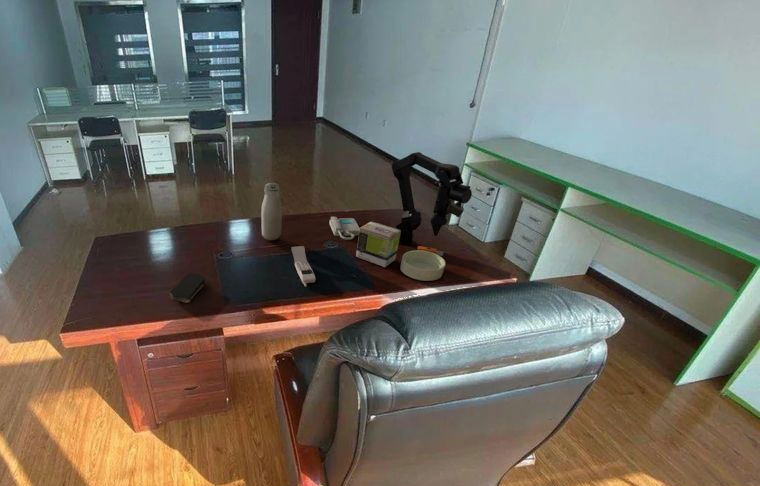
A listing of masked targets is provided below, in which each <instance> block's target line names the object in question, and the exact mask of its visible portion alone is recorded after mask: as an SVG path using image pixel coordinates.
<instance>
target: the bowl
mask: <svg viewBox="0 0 760 486" xmlns="http://www.w3.org/2000/svg"><path fill="white" fill-rule="evenodd" d="M445 268H446V260H445V259H444V258H443V257H442V256H440V255H437V254H434V253H431V252H428V251H420V250H418V249H417V250H409V251H407V252H405V253H403V255H402V258H401V261H400V266H399V269H400V271H401V272H402V273H403V274H404V275H405V276H407V277H409V278H411V279H414V280H417V281H423V282H424V281H425V282H430V281H436V280H439V279H441V278H442V276H444V275H443V274H444V271H445Z"/></svg>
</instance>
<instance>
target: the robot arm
mask: <svg viewBox="0 0 760 486" xmlns="http://www.w3.org/2000/svg"><path fill="white" fill-rule="evenodd" d="M415 165H416V166H418V167H421V168H423V169H425V170H427V171H429V172H431V173H433V175H434V176H435V178H437V179H438V180H437V181H436V182H434V185H436V186H438V189H437V192H436V193H437V194H436V199H435V202H434V203H435V204H434V207H433V211H432V213H433V214H432V215H431V217H430V224H431V228H432V232H433V236H434V237H438V234H439V233H440V231H441V228H442V227H443V226H446V225H447V224H448V219H449V218H448V215H449V214H451V215H453V216H455V217H457V218H460V217H461V216H462V214H463V212H464V211H465V208H464V206H463V205H462V204H467V203H468V202H470V201H471V199H472V197H473V193H472V192H473V191H472V189H471V186H470V185H468V184H467V185H466V184H464V180H463V178H462V175H461V171H460V167H459V166H458V165H456V164H451V163H443V162H440V161H438V160H436V159H434V158H431V157H430V156H427V155H425V154H423V153H422V152H420V151H416V152H412V153H410V154H409V155H406V156H405V157H403V158H401V159H396V160H394V161H393V162H392V164H391V171H392V174H393V176H394V177H395V178H396V180H397V182H398V186H399V187H398V188H399V194H400V199H401V205H402V211H403V212H402V215H401V219H400V220H401V222H400V223H397V225H396V226H395V229H399V230H401V234H400V239H399V244H401V245H407V246H411V243H412V241H413V239H414V234H415V233H414V231H415V230H418V228H419V227H420V226H421V224H422V221H423V218H422V216H421V215H422V213H421V211H417V209H416V207H415V202H414V197H413V190H412V186H411V178H410V177H411V174H412V173H413V172H412V171H413V168H412V167H414V166H415ZM452 201H455V202H452ZM399 244H398V245H399Z"/></svg>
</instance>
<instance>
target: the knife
mask: <svg viewBox="0 0 760 486" xmlns="http://www.w3.org/2000/svg"><path fill="white" fill-rule="evenodd" d="M417 250H420V251H428V252H431V253H434V254H437V255H439V256H440V257H442V256H443V255H444V251H440V250H438V249H437V248H434V247H428V246H423V245H418V247H417Z"/></svg>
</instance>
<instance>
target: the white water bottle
mask: <svg viewBox="0 0 760 486" xmlns="http://www.w3.org/2000/svg"><path fill="white" fill-rule="evenodd" d="M263 190H264V196H263V199H262V203H261V211H260V212H261V217H260V218H261V236H262V237H263V238H264V239H265V240H267V241H276V240H278V239H279V238H280V237H281V235H282V226H283V225H282V221H283V205H282V201H281V186H280V185H279V184H278V183H276V182H268V183H267V184H265V185H264V189H263Z"/></svg>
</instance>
